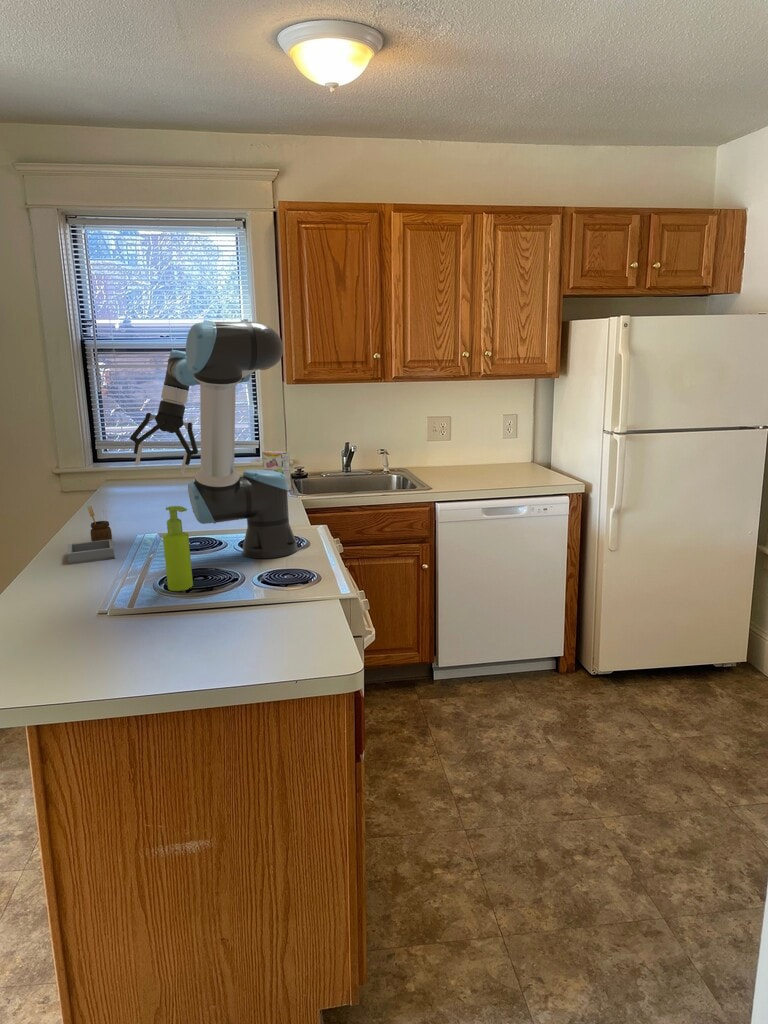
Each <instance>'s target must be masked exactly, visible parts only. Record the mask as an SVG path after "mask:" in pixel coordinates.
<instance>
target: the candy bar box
mask: <svg viewBox="0 0 768 1024" xmlns="http://www.w3.org/2000/svg"><path fill="white" fill-rule="evenodd" d="M261 455H262V457H261V458H262V470H267V471H275V472H280V473H282V474H283V475H284V476H285V478H286V484H287V488H288V490H287V492H290V491H292V479H291V478H292V477H291V476H292V475H291V464H290V461H291V459H290V451H289V452H288V451H280V450H279V451H277V450H265V451H262V452H261Z"/></svg>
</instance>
